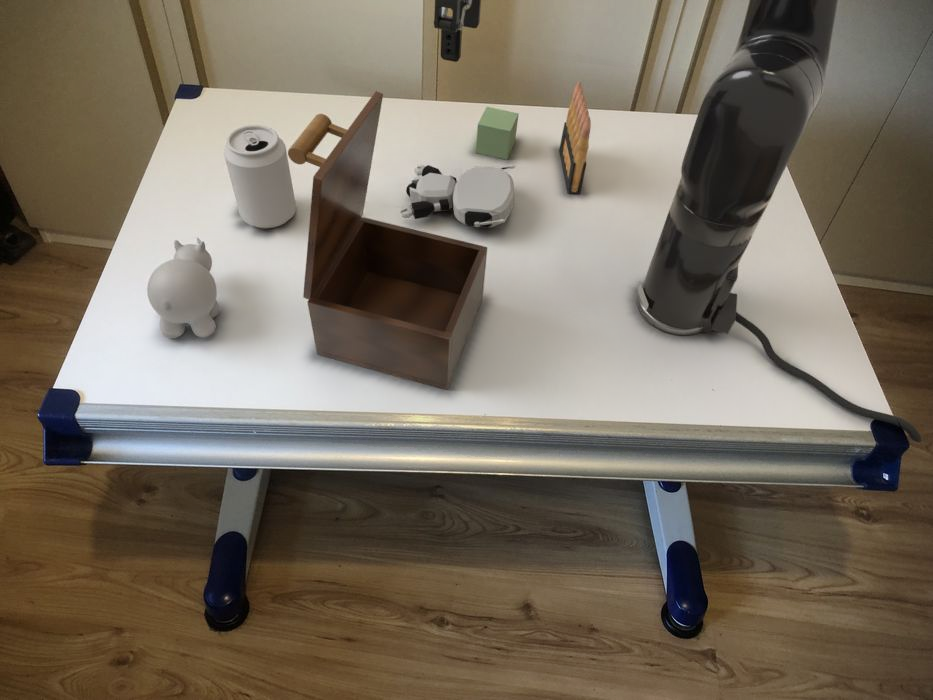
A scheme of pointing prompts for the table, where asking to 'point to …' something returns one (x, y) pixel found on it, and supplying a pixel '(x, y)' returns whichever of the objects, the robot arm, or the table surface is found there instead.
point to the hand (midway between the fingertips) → (460, 42)
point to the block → (496, 133)
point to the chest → (399, 302)
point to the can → (260, 176)
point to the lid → (336, 185)
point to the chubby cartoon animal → (185, 292)
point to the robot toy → (463, 195)
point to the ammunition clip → (575, 141)
